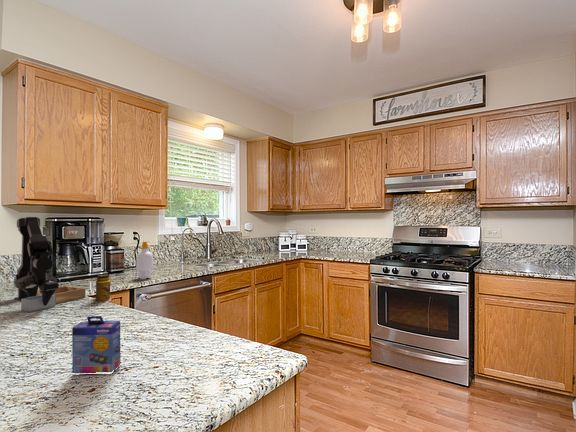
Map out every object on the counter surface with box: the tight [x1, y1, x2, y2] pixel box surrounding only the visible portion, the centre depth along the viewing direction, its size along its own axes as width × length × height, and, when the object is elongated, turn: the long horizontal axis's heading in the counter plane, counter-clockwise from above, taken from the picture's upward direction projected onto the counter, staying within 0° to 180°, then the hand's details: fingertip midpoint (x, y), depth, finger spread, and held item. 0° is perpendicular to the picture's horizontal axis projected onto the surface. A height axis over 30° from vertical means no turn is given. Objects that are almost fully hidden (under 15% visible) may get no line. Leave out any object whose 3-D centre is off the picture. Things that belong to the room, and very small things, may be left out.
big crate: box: [36, 285, 86, 305], centre depth 164 cm, size 15×15×4 cm
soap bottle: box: [135, 241, 154, 280], centre depth 222 cm, size 10×10×24 cm
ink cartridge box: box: [71, 315, 122, 374], centre depth 86 cm, size 10×6×14 cm, turn 95°
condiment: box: [90, 274, 112, 304], centre depth 162 cm, size 7×8×12 cm
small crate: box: [20, 295, 56, 313], centre depth 147 cm, size 10×6×5 cm, turn 156°
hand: (38, 304), depth 147 cm, fingers open, 9 cm apart
